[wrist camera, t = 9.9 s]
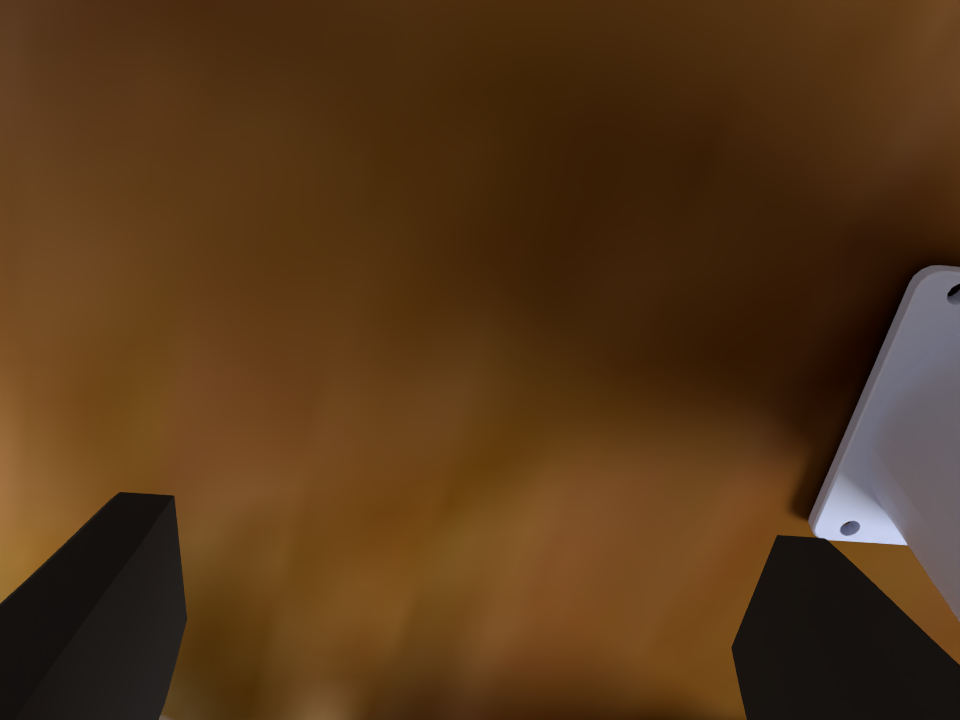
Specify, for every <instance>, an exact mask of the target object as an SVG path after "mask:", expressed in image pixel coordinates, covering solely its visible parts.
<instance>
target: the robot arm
mask: <svg viewBox="0 0 960 720" xmlns="http://www.w3.org/2000/svg"><path fill="white" fill-rule="evenodd" d="M957 284H960V267H954V266H943V265H934V266H929V267H926V268H924V269H922V270H920V271H919V272H918V273H917V274H915V275H914V276H913V278H912V280H911V281H910V283H909V285H908V287H907V289H906V292H905V294H904V296H903V299H902V301H901V303H900V306H899V308H898V310H897V313H896V315H895V317H894V320H893V322H892V324H891V327H890V329H889V331H888V334H887V336H886V338H885V341H884V343H883V345H882V348H881V350H880V352H879V355H878V357H877V359H876V362H875V364H874V366H873V369H872V371H871V373H870V376H869V378H868V381H867V383H866V385H865V388H864V390H863V392H862V395H861V397H860V399H859V402H858V404H857V406H856V409H855V411H854V413H853V416H852V418H851V420H850V423H849V425H848V427H847V430H846V432H845V434H844V437H843V439H842V441H841V444H840V446H839V448H838V451H837V453H836V455H835V458H834V460H833V462H832V465H831V467H830V469H829V472H828V474H827V476H826V479H825V481H824V483H823V486H822V488H821V490H820V493H819V495H818V497H817V500H816V502H815V505H814V507H813V509H812V512H811V514H810V516H809V521H808V523H809V525H810V528H811V530H812V531H813V533H814V535H815V536H817V537H818V538H813V537H798V536H782V535H777V537H776V539H775V542H774V544H773V547H772V549H771V552H770V554H769V556H768V559H767V561H766V564H765V566H764V569H763V571H762V574H761V576H760V579H759V581H758V583H757V586H756V588H755V591H754V593H753V596H752V598H751V601H750V603H749V606H748V608H747V611H746V613H745V615H744V618H743V620H742V623H741V625H740V628H739V630H738V633H737V635H736V638H735V640H734V642H733V645H732V647H731V648H732V653H733V658H734V663H735V667H736V672H737V677H738V682H739V687H740V692H741V696H742V700H743V705H744V709H745V713H746V717H747V720H960V665H959V664H958V663H957V662H956V661H955V660H953V659H952V658H951V657H950V656H949V655H948V654H947V653H946V652H945V651H944V650H943V649H942V648H941V647H940V646H939V645H938V644H937V643H935V642H934V641H933V640H932V639H931V638H930V637H929V636H928V635H927V634H926V633H925V632H924V631H923V630H922V629H921V628H920V627H919V626H918V625H917V624H916V623H915V622H913V621H912V620H911V619H910V618H909V617H908V616H907V615H906V614H905V613H904V612H903V611H902V610H901V609H900V608H899V607H898V606H897V605H896V604H895V603H894V602H893V601H892V600H891V599H890V598H889V597H887V596H886V595H885V594H884V593H883V592H882V591H881V590H880V589H879V588H878V587H877V586H876V585H875V584H874V583H873V582H872V581H871V580H870V579H869V578H868V577H867V576H866V575H865V574H864V573H862V572H861V571H860V570H859V569H858V568H857V567H856V566H855V565H854V564H853V563H852V562H851V561H850V560H849V559H848V558H846V557H845V556H844V555H843V554H842V553H841V552H840V551H839V550H838V549H837V548H835V547H834V546H833V545H832V544H831V543H830V542H829V541H828V540H838V541H853V542H868V543H883V544H899V545H908V546H909V547H910V549H911V550H912V552H913V553H914V555H915V556H916V558H917V559H918V561H919V562H920V564H921V565H922V567H923V568H924V570H925V571H926V573H927V574H928V576H929V577H930V579H931V580H932V581H933V583H934V584H935V586H936V587H937V589H938V590H939V592H940V593H941V595H942V596H943V598H944V599H945V601H946V602H947V604H948V605H949V607H950V608H951V610H952V611H953V613H954V614H955V616H956V617H957V619H958V620H959V622H960V289H959V291H958V292H957V293H955V294H954V295H952V296H948V297H947V295H948V292H949V291H950V290H951V288H952V287H954V286H956V285H957ZM848 521H851V522H850V523H848V524H846V525H843V524H844V523H846V522H848ZM186 621H187V614H186V604H185V595H184V585H183V575H182V566H181V556H180V547H179V537H178V527H177V518H176V508H175V499H174V496H172V495H156V494H141V493H126V492H119V493H118V494H117V495H116V496H114V497H113V498H112V499H110V500H109V501H108V502H107V503H106V504H105V505H104V506H103V507H102V508H101V509H100V510H99V511H98V512H97V513H96V514H95V515H94V516H93V517H92V518H91V519H90V520H89V521H87V522H86V523H85V524H84V525H83V526H82V527H81V528H80V529H79V530H78V531H77V532H76V533H75V534H74V535H73V536H72V537H71V538H70V539H69V540H68V541H67V542H66V543H65V544H64V545H63V546H62V547H61V548H59V549H58V550H57V551H56V552H55V553H54V554H53V555H52V556H51V557H50V558H49V559H48V560H47V561H46V562H45V563H44V564H43V565H42V566H41V567H39V568H38V569H37V570H36V571H35V572H34V573H33V574H32V575H31V576H30V577H29V578H28V579H27V580H26V581H25V582H24V583H22V584H21V585H20V586H19V587H18V588H17V589H16V590H15V591H14V592H13V593H11V594H10V595H9V596H8V597H7V598H6V599H5V600H4V601H3V602H2V603H0V720H159V717H160V715H161V712H162V709H163V707H164V704H165V700H166V697H167V693H168V690H169V686H170V682H171V679H172V675H173V671H174V668H175V664H176V660H177V656H178V652H179V648H180V644H181V640H182V636H183V632H184V629H185V625H186Z"/></svg>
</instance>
